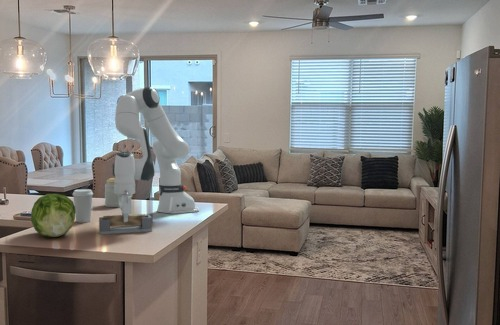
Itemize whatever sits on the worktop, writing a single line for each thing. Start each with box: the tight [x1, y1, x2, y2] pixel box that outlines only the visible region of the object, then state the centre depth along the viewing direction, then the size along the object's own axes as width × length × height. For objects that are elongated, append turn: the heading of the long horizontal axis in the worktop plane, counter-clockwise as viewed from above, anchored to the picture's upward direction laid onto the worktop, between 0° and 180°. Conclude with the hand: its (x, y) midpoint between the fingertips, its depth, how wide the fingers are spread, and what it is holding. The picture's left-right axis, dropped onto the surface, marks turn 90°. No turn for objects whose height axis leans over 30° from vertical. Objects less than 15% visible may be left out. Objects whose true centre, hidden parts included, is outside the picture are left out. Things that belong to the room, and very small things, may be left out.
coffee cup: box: [72, 188, 94, 224], centre depth 241 cm, size 10×10×15 cm
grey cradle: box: [98, 214, 153, 235], centre depth 222 cm, size 22×7×6 cm, turn 110°
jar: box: [104, 176, 120, 208], centre depth 286 cm, size 13×13×18 cm
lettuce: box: [30, 193, 76, 238], centre depth 212 cm, size 18×23×19 cm
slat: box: [102, 213, 147, 227], centre depth 222 cm, size 18×3×4 cm, turn 109°
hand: (125, 220), depth 222 cm, fingers closed on slat, 3 cm apart
